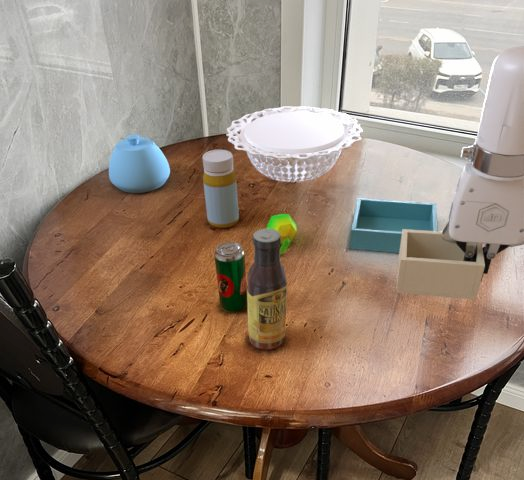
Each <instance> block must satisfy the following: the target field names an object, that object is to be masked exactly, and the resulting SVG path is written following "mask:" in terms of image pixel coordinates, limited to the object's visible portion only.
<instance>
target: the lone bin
mask: <svg viewBox="0 0 524 480" xmlns="http://www.w3.org/2000/svg"><path fill="white" fill-rule="evenodd" d="M442 232H443V231H438V230H437V231H423V230H408V229H402V236H401V244H400V251H399V253H398V258H397V270H396V273H397V274H396V284H395V285H396V287H395V288H396V289H395V293H396V294H406V295H415V296H416V295H417V296H430V297H440V298H450V299H451V298H454V299H463V300H477V296H478V294H479V293H478V292H479V289H480V286H481V282H482V281H481V279H482V280H483V278H482V275H483V276H484V274H483V272H484V268H485V262H484V255H483V243H476V244H475V249H476V262H467V261H463V260H464V255H465V253H464V252H463V251H462V250H461V249H460V247H459V246H458V245H457V244H456V243H451V242H448V241H445V240H443V239H442Z"/></svg>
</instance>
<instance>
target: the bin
mask: <svg viewBox="0 0 524 480" xmlns="http://www.w3.org/2000/svg"><path fill="white" fill-rule="evenodd" d="M437 210H438V209H437V203H432V202H419V201H405V200H393V199H392V200H391V199H390V200H389V199H378V198H377V199H374V198H364V197H363V198H362V197H357V199H356V204H355V208H354V214H353V220H352V223H351V229H350V239H349V240H350V242H349V249H350V250H358V251H359V250H360V251H370V252H372V251H373V252H382V253H393V254H395V253H396V254H399V251H400V244H401V236H402V229H408V230H423V231H438V211H437Z"/></svg>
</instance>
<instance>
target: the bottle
mask: <svg viewBox="0 0 524 480" xmlns="http://www.w3.org/2000/svg"><path fill="white" fill-rule="evenodd" d="M202 166H203V175H202V181H203V182H202V183H203V184H202V185H203V191H204V200H205V208H206V209H205V210H206V217H207V222H208V224H209V225H211V226H212V227H213V228H216V229H217V228H218V229H228V228H232V227H233V226H235V225H236V224H237V223H238V222H239V220H240V213H239V212H240V210H239V197H238V183H237V175H236V173H235V171H234V156H233V152H231V151H229V150H226V149H213V150H209V151H206V152H204V153H203V155H202Z"/></svg>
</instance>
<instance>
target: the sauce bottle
mask: <svg viewBox="0 0 524 480" xmlns="http://www.w3.org/2000/svg"><path fill="white" fill-rule="evenodd" d="M252 244H253V246H254V257H253V263H252V265H251V266H250V267H249V270H248V272H247V275H246V282H247V333H248V338H249V342H250V344H251V345H252V346H253V347H254V348H256V349H257V350H258V349H259V350H263V351H264V350H266V351H267V350H269V351H270V350H274V349H277V348H279V347H280V346H281V345H282V344H283V342H284V341H285V335H286V331H287V330H286V329H287V296H288V295H287V293H288V289H287V288H288V283H287V282H288V281H287V276H286V273H285V272H286V271H285V268H284V265H283V264H282V262H281V255H280V248H281V235H280V233H279V232H278V231H276V230H274V229H267V228H261V229H258V230H256V231H254V233H253V235H252Z"/></svg>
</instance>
